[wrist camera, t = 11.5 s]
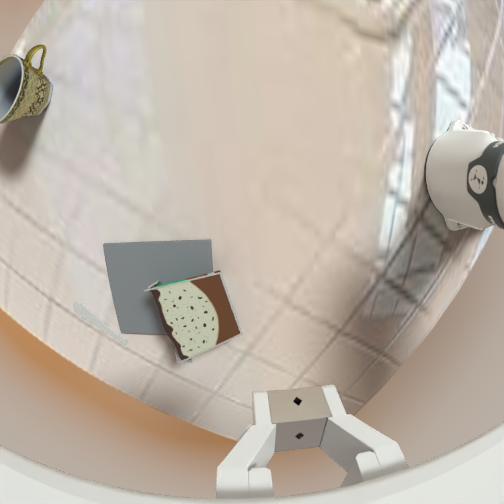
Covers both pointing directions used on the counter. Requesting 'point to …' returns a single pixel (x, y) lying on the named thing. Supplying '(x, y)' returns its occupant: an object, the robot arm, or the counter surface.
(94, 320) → the butter knife
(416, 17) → the counter surface
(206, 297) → the food container
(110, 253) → the mat
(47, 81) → the ceramic cup
